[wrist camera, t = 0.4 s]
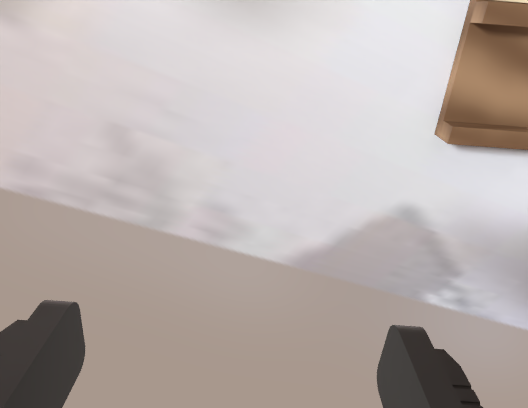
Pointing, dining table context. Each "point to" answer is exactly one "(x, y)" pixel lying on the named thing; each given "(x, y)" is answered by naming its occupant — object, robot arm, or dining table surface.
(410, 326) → the robot arm
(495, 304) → the dining table surface
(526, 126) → the notch rack
